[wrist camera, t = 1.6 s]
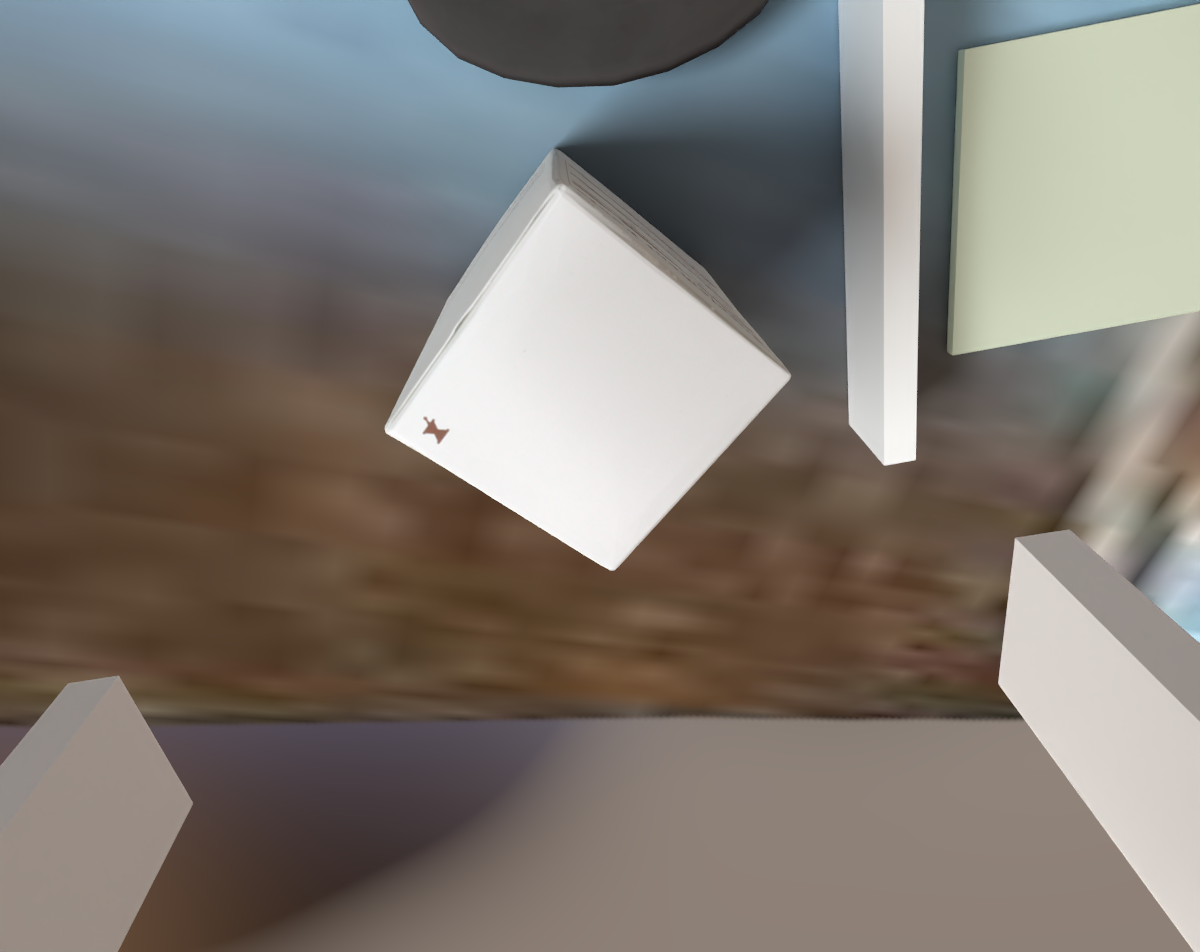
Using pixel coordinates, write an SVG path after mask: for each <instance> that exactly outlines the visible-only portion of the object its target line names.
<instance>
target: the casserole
mask: <svg viewBox="0 0 1200 952" xmlns="http://www.w3.org/2000/svg"><path fill="white" fill-rule="evenodd" d="M408 1H409V3H410V5H411V7H412V9H413V11H414V13H415V14H416V16H417V18H418V20H419V22H420V24H421V25H422V26H424V27H425V28H426V29H427V30H428V31H429V32H430V33H431V34H432V35H433V36H435V37H436V38H437V39H438V40H439V41H440V42H441V43H442V44H443V45H444V46H446V47H447V48H448V49H449V50H450V51H451V52H452V53H453V54H454V55H455V56H457V57H458V58H459V59H461V60H463V61H466V62H468V63H470V64H473V65H475V66H477V67H480V68H482V69H484V70H487V71H489V72H491V73H494V74H496V75H499V76H501V77H503V78H507V79H513V80H518V81H524V82H530V83H535V84H541V85H547V86H553V87H585V86H614V85H618V84H622V83H625V82H629V81H633V80H637V79H641V78H644V77H648V76H652V75H656V74H660V73H663V72H667V71H670V70H672V69H674V68H676V67H678V66H680V65H682V64H684V63H686V62H688V61H690V60H692V59H694V58H696V57H698V56H700V55H702V54H704V53H707V52H709V51H711V50H713V49H715V48H717V47H719V46H720V45H721V44H722V43H724V42H725V41H726V40H727V39H729V38H730V37H731V36H732V35H734V34H735V33H736V32H737V31H739V30H740V29H741V28H742V27H744V26H745V25H746V24H747V23H749V22H750V21H751V20H752V19H754V18H755V17H756V16H757V15H759V14H760V12H761V11H762V9H763V8H764V6H765V5H766V3H767V2H768V0H408Z"/></svg>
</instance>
